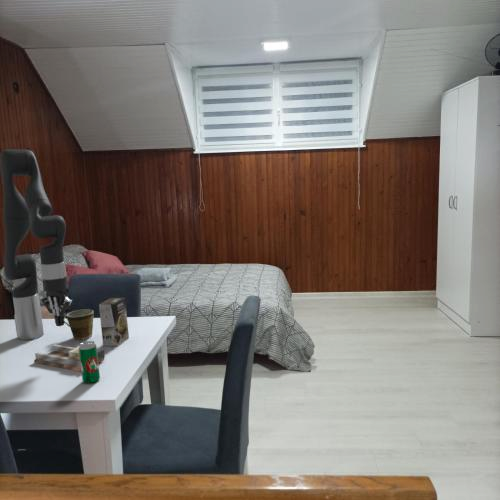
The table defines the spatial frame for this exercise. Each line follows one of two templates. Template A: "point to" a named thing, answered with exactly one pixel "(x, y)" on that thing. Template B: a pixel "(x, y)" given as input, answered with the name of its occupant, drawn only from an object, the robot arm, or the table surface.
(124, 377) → the table surface
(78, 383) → the table surface
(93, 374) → the soda can
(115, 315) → the coffee box
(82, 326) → the ceramic cup
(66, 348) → the shallow wooden tray
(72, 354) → the birch block
